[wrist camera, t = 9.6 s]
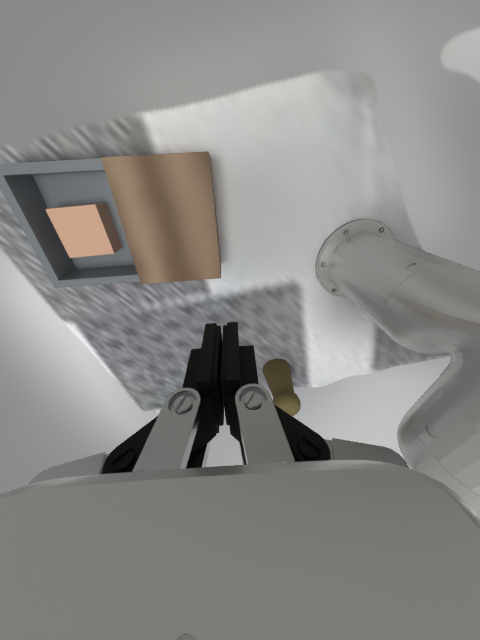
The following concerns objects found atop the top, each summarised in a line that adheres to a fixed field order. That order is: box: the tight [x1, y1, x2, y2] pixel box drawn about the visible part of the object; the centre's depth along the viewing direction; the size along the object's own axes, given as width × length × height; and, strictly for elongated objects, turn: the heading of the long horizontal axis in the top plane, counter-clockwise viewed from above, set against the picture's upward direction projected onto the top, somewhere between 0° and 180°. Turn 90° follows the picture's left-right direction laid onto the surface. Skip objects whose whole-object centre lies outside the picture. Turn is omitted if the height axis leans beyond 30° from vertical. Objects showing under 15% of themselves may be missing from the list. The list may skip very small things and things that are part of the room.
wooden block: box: [101, 152, 221, 284], centre depth 29 cm, size 11×14×6 cm
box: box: [0, 158, 140, 288], centre depth 29 cm, size 12×14×5 cm
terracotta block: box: [45, 202, 122, 258], centre depth 30 cm, size 6×6×3 cm
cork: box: [263, 359, 300, 416], centre depth 45 cm, size 6×6×11 cm
